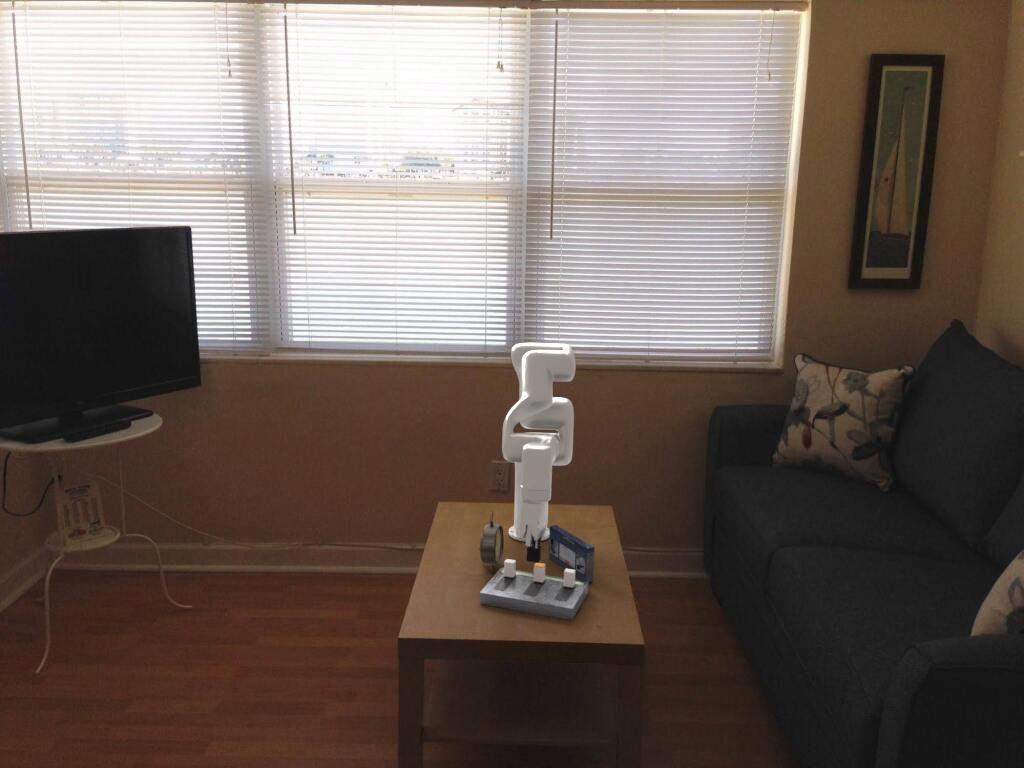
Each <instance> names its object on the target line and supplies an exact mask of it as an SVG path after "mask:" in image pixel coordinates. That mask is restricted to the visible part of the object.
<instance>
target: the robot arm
mask: <svg viewBox="0 0 1024 768" xmlns="http://www.w3.org/2000/svg"><path fill="white" fill-rule="evenodd" d="M510 358H511V362H512V366H513V369H514V371H515V372H516V375H517V379H518V384H519V389H518V390H519V391H518V392H519V395H518V401H517V402H516V403H515V404H514V405H512V407H510V409H509V410H508V412H507V414H506V416H505V418H504V420H503V425H502V437H501V438H502V441H501V451H502V455H503V458H504V460H506V461H507V462H509V463H514V476H515V477H514V507H513V508H514V511H513V512H514V513H513V514H514V515H513V516H514V517H513V525H512V526H510V527H509V528H508V535H509V537H510V538H511V539H514V540H516V541H520V542H524V543H525V546H526V561H527V562H529V563H530V562H531V563H540V561H541V558H542V557H541V555H542V545H541V544H542V541H543V542H544V541H546V540H547V539H548V540H549V535H550V533H549V530H550V527H548V524H549V523H548V522H549V501H551V499H552V475H553V466H567V465H569V464H570V463H571V461H572V459H573V453H574V452H573V450H574V449H573V448H574V427H575V426H574V421H575V415H574V413H575V411H574V405H573V403H572V400H570V399H568V398H566V397H563V396H562V397H561V396H559V397H555V396H553V394H554V392H553V389H554V388H553V385H554V384H553V382H560V383H561V382H562V383H563V382H564V383H565V382H566V383H567V382H571V381H573V380H574V377H575V375H576V369H577V366H576V357H575V353H574V351H573V348H572V346H571V345H569V344H567V343H554V342H553V343H549V342H547V343H545V342H520V343H516V344H514V345H512V347H511V350H510ZM518 424H520V426H521V427H522V428H524V429H529V430H544V431H545V430H548V431H549V430H550V431H556V432H537V431H536V432H533V431H529V432H514V428H515V426H516V425H518Z"/></svg>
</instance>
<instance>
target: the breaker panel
mask: <svg viewBox="0 0 1024 768" xmlns="http://www.w3.org/2000/svg"><path fill="white" fill-rule="evenodd" d="M533 577H534V572H530V571H523V570H518V569H516V574H515V576H514V577H513V578H512V577H506V576H504V567H499V569H498V571H497V572H495V574H494V575H493V577H492V578H491V579H489V581H488V582H487V584H486V585H485V586H484V587H483V588H482V589H481V590H480V592H479V604H480V605H485V604H487V605H486V606H490V605H493V606H492V607H496V606H497V608H501V607H502V609H507V608H508V609H507V610H512V611H519V612H524V613H525V612H526V613H530V614H536V615H541V616H548V617H553V618H559V619H564V620H570V621H573V619H574V618H575V616H576V614H577V613H578V611H579V609H580V607H581V606H582V604H583V602H584V600H585V599H586V597H587V596H588V594H589V583H590V582H585V581H581V580H580V579H579V580H578V579H575V585H574V587H573V588H572V587H566V586H563V582H564V577H560V576H559V577H558V576H554V575H547V574H545V580H544V581H543V582H537V581H533Z"/></svg>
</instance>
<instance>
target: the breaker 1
mask: <svg viewBox="0 0 1024 768" xmlns="http://www.w3.org/2000/svg"><path fill="white" fill-rule="evenodd" d="M516 564H517V560H515V559H509V558H506V559H505V560H504V563H503V568H504V576H506V577H512V578H513V577H514V576H515V574H516V570H517V569H516V568H517V567H516Z"/></svg>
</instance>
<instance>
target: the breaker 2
mask: <svg viewBox="0 0 1024 768" xmlns="http://www.w3.org/2000/svg"><path fill="white" fill-rule="evenodd" d="M563 578H564V582H563V586H566V587H572V588H573V587H574V585H575V580H576V577H575V570H573V569H567V568H566V569H564V571H563Z"/></svg>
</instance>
